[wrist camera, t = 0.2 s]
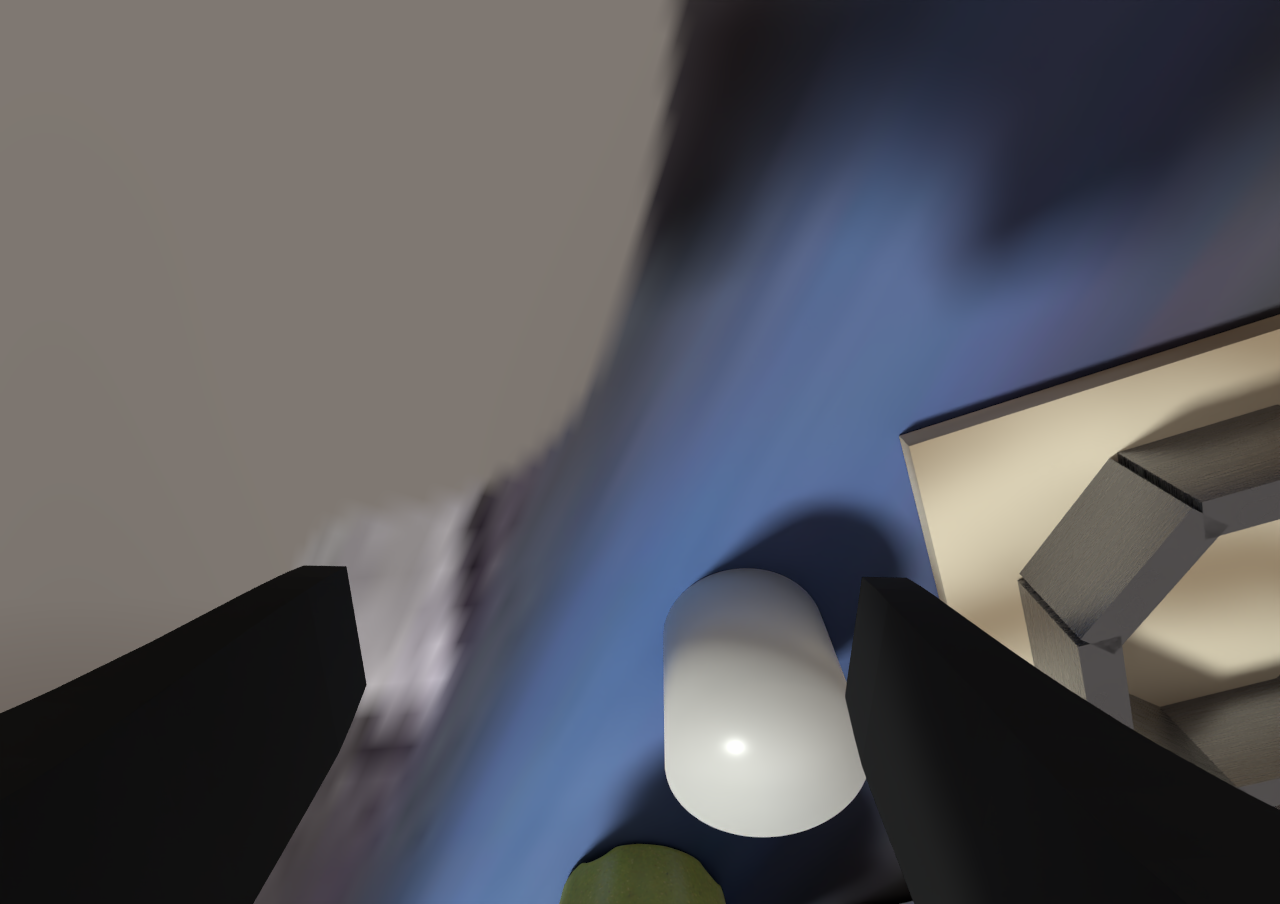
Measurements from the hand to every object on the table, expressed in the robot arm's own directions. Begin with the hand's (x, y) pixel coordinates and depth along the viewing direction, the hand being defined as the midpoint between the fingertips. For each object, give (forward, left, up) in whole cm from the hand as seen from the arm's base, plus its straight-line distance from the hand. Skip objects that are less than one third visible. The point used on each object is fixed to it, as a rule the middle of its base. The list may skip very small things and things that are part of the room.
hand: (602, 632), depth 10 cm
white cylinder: (-8, -1, -10) cm, 13 cm away
